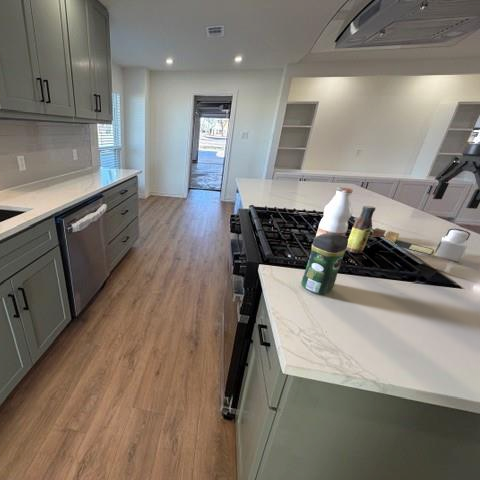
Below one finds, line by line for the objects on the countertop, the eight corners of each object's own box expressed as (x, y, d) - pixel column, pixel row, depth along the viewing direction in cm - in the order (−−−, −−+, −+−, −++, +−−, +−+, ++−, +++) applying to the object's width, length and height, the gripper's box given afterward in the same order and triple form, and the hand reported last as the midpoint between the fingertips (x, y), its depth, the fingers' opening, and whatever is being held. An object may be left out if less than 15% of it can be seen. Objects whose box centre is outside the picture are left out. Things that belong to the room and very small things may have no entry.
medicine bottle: (434, 251, 112) (447, 226, 107) (458, 257, 107) (473, 230, 102) (433, 256, 107) (447, 229, 103) (458, 262, 103) (473, 235, 98)
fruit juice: (306, 254, 106) (325, 187, 95) (317, 248, 111) (336, 185, 100) (330, 263, 99) (354, 192, 88) (341, 257, 104) (364, 189, 93)
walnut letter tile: (382, 238, 124) (386, 230, 122) (380, 240, 121) (383, 232, 120) (373, 235, 127) (375, 228, 125) (370, 237, 124) (373, 229, 123)
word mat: (433, 249, 113) (433, 248, 113) (429, 255, 107) (430, 254, 107) (373, 234, 129) (373, 233, 129) (367, 239, 123) (367, 238, 123)
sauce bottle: (361, 255, 106) (378, 210, 98) (343, 251, 110) (359, 206, 102) (363, 250, 110) (380, 206, 102) (346, 246, 114) (361, 203, 106)
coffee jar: (312, 277, 88) (327, 228, 81) (336, 289, 82) (355, 236, 75) (295, 285, 84) (310, 233, 76) (319, 298, 78) (338, 243, 70)
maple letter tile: (396, 241, 120) (399, 233, 119) (394, 243, 118) (397, 235, 116) (385, 238, 123) (388, 231, 122) (383, 240, 121) (386, 232, 119)
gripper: (438, 142, 100) (415, 195, 108) (512, 145, 77) (476, 212, 85) (459, 142, 99) (434, 196, 107) (540, 145, 76) (501, 213, 84)
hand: (453, 203), depth 96 cm, fingers open, 13 cm apart
